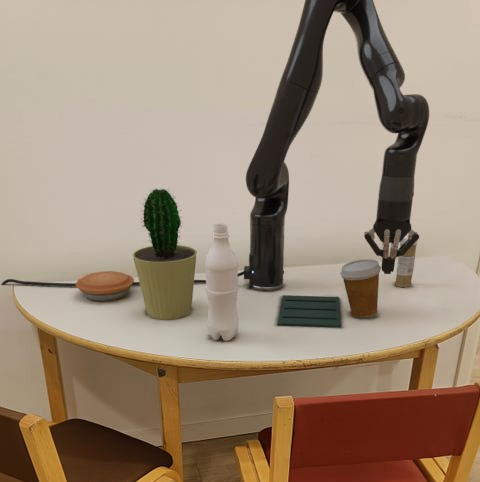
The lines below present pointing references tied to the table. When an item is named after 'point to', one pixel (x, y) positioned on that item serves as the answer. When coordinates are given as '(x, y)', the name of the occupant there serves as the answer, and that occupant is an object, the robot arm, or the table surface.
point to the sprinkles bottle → (405, 265)
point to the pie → (105, 285)
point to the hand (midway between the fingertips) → (387, 273)
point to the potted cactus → (165, 260)
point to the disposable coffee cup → (362, 286)
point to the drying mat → (310, 311)
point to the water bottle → (222, 286)
